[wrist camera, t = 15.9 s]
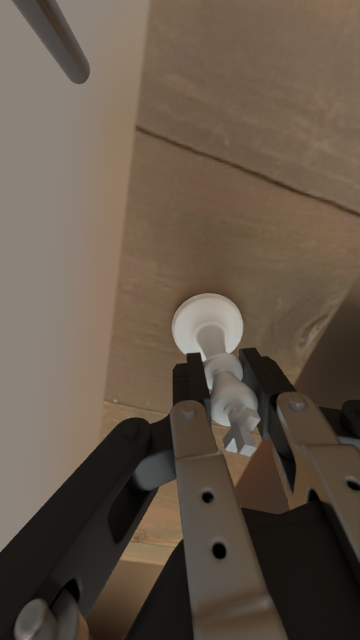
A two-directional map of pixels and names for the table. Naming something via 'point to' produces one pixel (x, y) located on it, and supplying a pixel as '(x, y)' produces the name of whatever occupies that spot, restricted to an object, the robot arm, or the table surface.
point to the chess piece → (220, 364)
